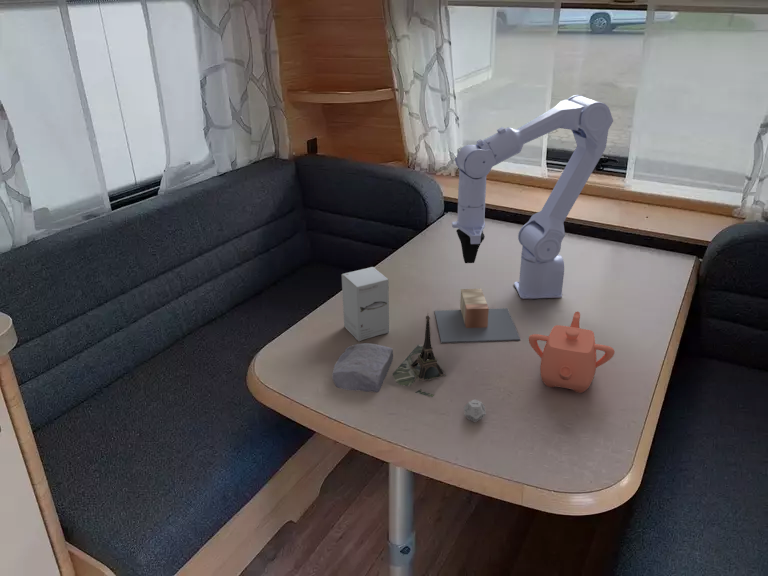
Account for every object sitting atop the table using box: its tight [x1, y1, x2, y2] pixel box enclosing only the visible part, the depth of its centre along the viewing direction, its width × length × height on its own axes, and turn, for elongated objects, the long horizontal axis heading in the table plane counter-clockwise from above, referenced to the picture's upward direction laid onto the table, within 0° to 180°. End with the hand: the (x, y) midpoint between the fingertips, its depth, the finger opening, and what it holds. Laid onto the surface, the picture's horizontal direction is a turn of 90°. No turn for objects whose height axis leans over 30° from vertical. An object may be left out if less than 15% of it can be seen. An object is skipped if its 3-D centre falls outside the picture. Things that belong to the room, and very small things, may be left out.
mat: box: [434, 307, 521, 344], centre depth 132 cm, size 16×13×1 cm
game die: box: [463, 398, 487, 423], centre depth 105 cm, size 4×4×3 cm
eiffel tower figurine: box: [392, 314, 447, 398], centre depth 115 cm, size 15×10×13 cm
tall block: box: [459, 288, 490, 328], centre depth 134 cm, size 4×4×9 cm
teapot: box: [528, 311, 616, 394], centre depth 112 cm, size 14×12×10 cm
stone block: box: [331, 342, 394, 393], centre depth 117 cm, size 12×5×10 cm
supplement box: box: [341, 266, 390, 342], centre depth 129 cm, size 7×7×13 cm
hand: (469, 261), depth 138 cm, fingers closed
